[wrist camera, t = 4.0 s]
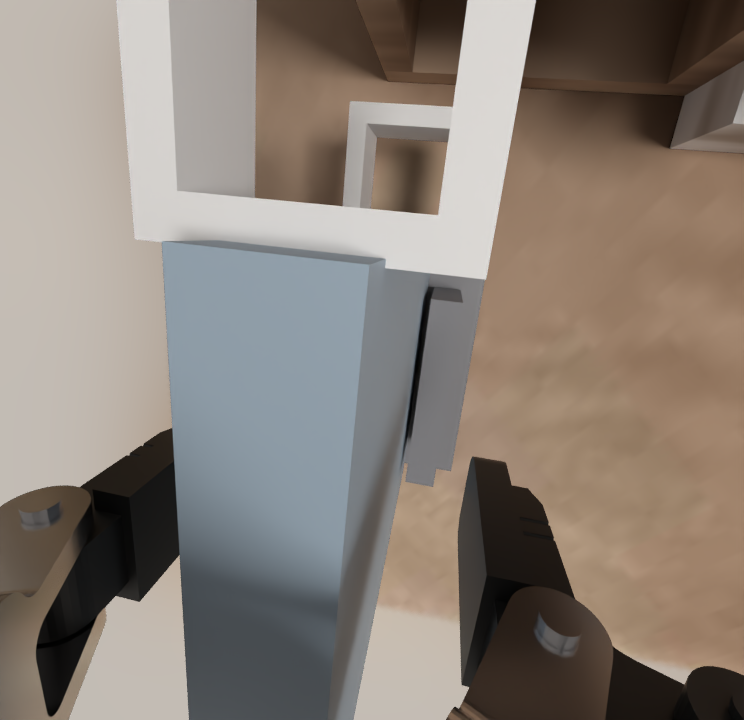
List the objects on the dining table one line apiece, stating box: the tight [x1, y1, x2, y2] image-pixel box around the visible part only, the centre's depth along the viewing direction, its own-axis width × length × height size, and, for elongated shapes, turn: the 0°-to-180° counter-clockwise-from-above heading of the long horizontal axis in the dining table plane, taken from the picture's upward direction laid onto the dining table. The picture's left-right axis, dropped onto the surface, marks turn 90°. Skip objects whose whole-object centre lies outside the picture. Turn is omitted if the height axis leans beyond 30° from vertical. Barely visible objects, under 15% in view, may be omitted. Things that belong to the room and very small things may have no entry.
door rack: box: [404, 273, 485, 487], centre depth 19 cm, size 7×11×5 cm, turn 174°
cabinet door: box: [116, 0, 536, 720], centre depth 12 cm, size 4×16×16 cm, turn 174°
